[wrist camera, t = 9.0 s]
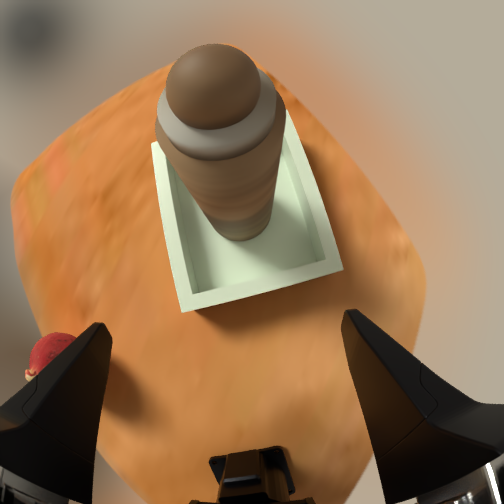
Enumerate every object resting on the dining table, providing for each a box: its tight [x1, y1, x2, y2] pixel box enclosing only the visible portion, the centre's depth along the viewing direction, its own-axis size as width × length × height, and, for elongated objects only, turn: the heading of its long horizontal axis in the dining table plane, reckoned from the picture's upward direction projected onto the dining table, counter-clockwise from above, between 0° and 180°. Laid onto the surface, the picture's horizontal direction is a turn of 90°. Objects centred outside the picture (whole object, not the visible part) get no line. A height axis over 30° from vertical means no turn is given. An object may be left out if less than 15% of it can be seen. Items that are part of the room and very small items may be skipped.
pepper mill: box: [155, 44, 286, 241], centre depth 13 cm, size 5×5×15 cm
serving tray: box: [151, 110, 344, 313], centre depth 20 cm, size 13×11×4 cm
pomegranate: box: [25, 332, 76, 382], centre depth 16 cm, size 6×6×8 cm
